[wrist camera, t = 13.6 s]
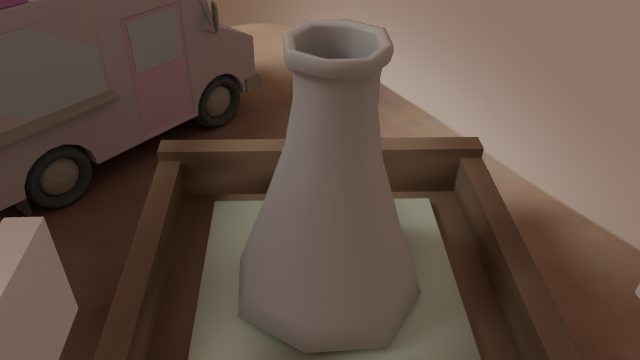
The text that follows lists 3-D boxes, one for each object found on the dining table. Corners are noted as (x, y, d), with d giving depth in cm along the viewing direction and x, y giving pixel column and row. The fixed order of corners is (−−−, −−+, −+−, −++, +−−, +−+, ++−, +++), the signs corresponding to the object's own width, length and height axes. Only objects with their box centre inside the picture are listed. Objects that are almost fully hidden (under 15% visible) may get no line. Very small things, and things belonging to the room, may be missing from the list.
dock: (101, 540, 17) (53, 454, 14) (177, 227, 29) (161, 139, 25) (568, 520, 18) (629, 433, 14) (458, 223, 29) (477, 137, 26)
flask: (427, 235, 24) (469, 7, 18) (411, 380, 18) (465, 118, 12) (267, 208, 25) (255, -13, 19) (205, 337, 19) (160, 79, 13)
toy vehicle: (269, 113, 39) (259, -129, 30) (-11, 264, 27) (-174, -66, 17) (186, 74, 43) (155, -145, 34) (-85, 187, 31) (-244, -105, 22)
